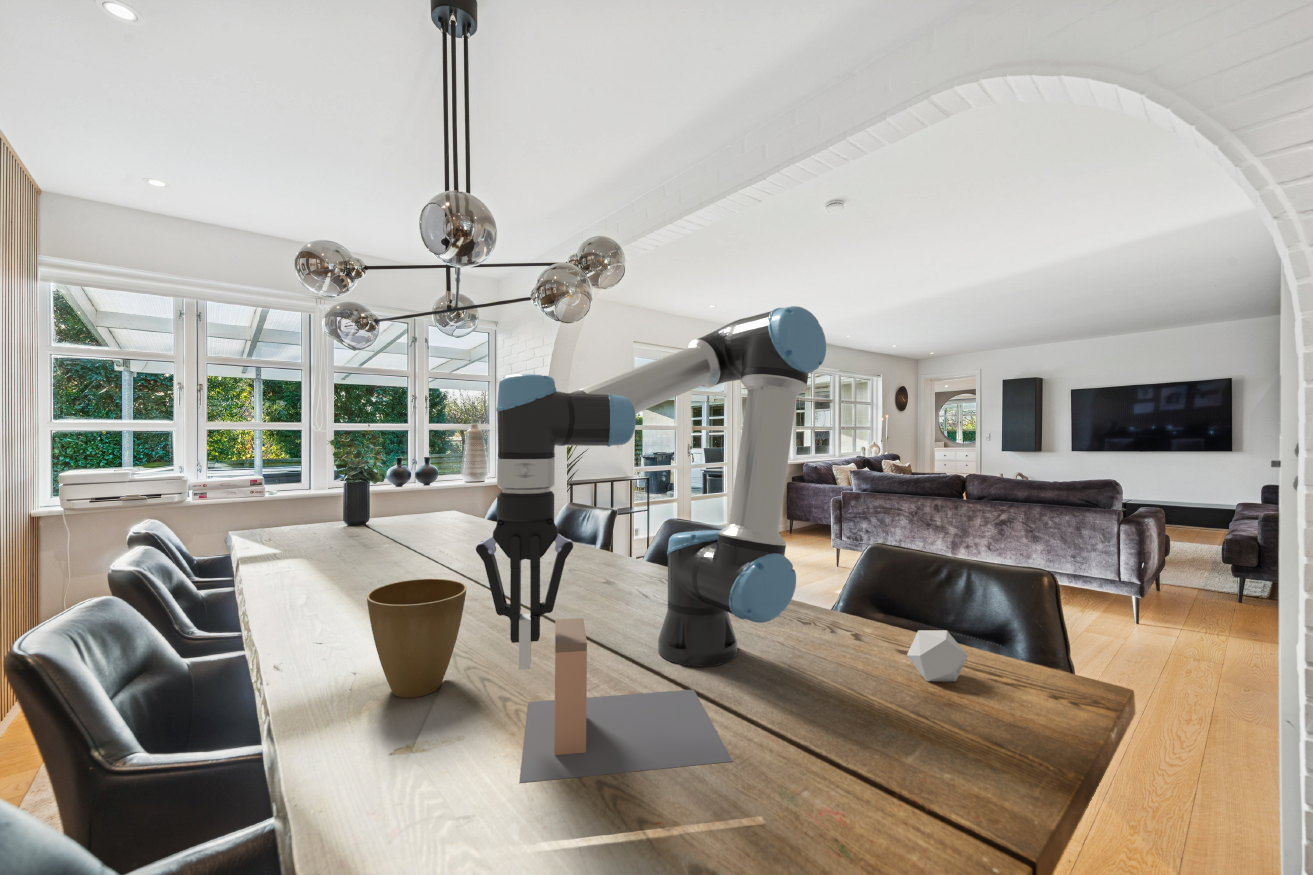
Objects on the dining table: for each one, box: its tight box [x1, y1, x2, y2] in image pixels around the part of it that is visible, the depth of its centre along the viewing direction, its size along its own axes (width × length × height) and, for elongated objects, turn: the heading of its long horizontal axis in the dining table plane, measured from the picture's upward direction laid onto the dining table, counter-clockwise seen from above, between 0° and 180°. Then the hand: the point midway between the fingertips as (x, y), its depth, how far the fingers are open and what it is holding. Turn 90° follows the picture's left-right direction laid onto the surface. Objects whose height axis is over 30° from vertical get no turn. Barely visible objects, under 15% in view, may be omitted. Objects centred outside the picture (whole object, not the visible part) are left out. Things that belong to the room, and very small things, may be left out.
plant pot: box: [366, 578, 467, 699], centre depth 90 cm, size 15×15×16 cm
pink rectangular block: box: [554, 617, 588, 755], centre depth 75 cm, size 10×4×14 cm, turn 10°
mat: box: [519, 689, 734, 784], centre depth 76 cm, size 20×26×1 cm
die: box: [906, 629, 969, 682], centre depth 95 cm, size 8×9×10 cm
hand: (525, 664), depth 74 cm, fingers closed
